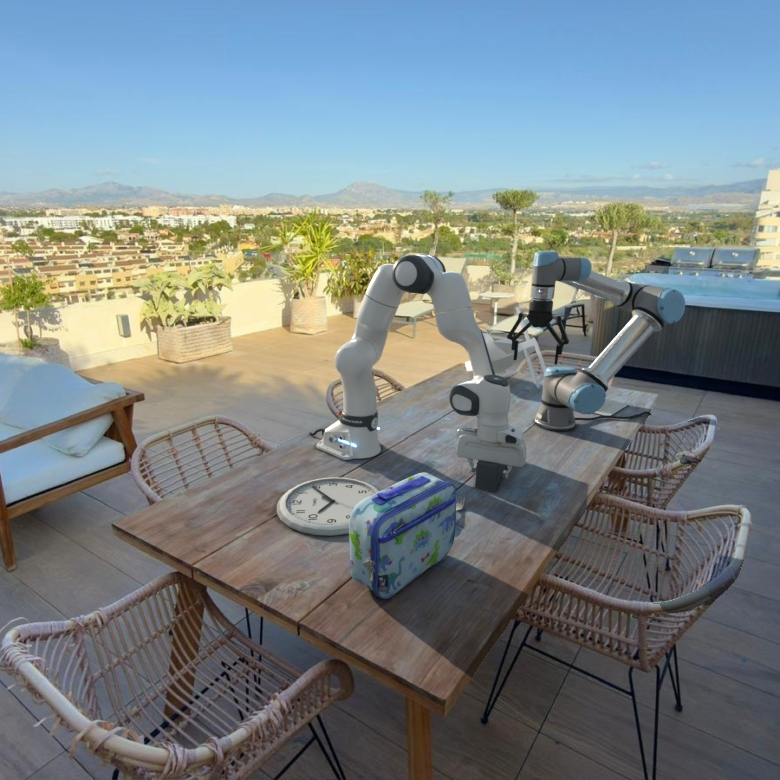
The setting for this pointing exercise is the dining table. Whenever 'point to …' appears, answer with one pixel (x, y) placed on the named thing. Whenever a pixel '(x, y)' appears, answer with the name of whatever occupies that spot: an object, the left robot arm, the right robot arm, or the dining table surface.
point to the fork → (459, 506)
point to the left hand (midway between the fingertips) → (489, 474)
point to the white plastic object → (510, 353)
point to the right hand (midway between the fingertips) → (535, 361)
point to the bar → (488, 475)
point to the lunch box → (401, 532)
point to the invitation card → (610, 408)
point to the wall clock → (323, 505)
